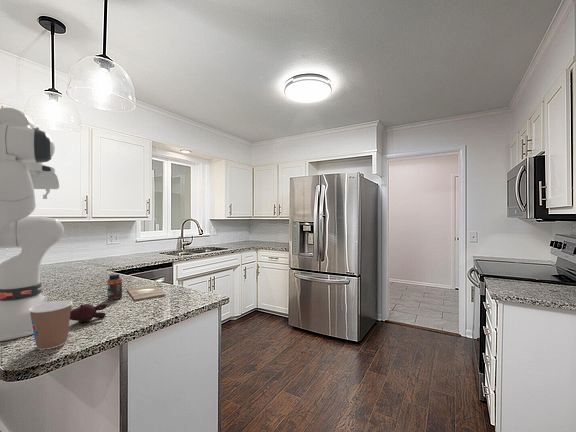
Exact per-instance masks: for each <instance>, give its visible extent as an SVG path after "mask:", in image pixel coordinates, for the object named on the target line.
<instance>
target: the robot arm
mask: <svg viewBox="0 0 576 432" xmlns="http://www.w3.org/2000/svg"><path fill="white" fill-rule="evenodd" d="M55 148H56V147H55V143H54V141H53V139H52V137H51V136H50V135H49V134H48V133H47V132H45V131H43V130H40V128H39V127H38V126H36V125H35V123H34V121H33V120H32V119H31V118H30V117H29V116H28V115H27V114H26V113H25V112H23V111H21V110H20V109H18V108H17V109H16V108H14V107H1V108H0V249H11V248H12V249H13V248H20V249H21V251H20V252H19V254H16V255H15V256H12V257H10V258H8V259H6V260H4V261H2V262H1V263H0V342H3V341H4V342H5V341H10V340H14V339H18V338H23V337H28V336H31V335H34V332H33V327H32V321H31V315H30V312H29V309H30V308H31V307H33V306H36V305H39V304H43V303H47V302H48V297H47V296H46V295H43V294H42V291H43V289H42V288H43V286H42V282H41V280H40V277H41V265H42V261H43V258H44V256H45V254H46V253H47V252H48V251H49V249H51V248H52V247H53V246H55V245H56V244H58V243H59V242H60V241H61V240H62V239H63V237H64V235H65V228H64V224H62V222H61V221H60V220H59V219H57V218H55V217H54V218H53V217H48V216H47V217H46V216H30V215H31V214H33V212H34V211H35V209H36V207H37V205H36V196H35V190H45V192H46V193H44V194H42V200H43V199H44V200H47V199H48V195H49V193H51V192H50V191H51V190H58V189H60V182H59V179H58V175H57V174H56V169H55V168H54V167H52V166H49V165H45V164H43V163H47V162H49V161H51V160H52V157H53V156H54V153H55Z"/></svg>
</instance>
